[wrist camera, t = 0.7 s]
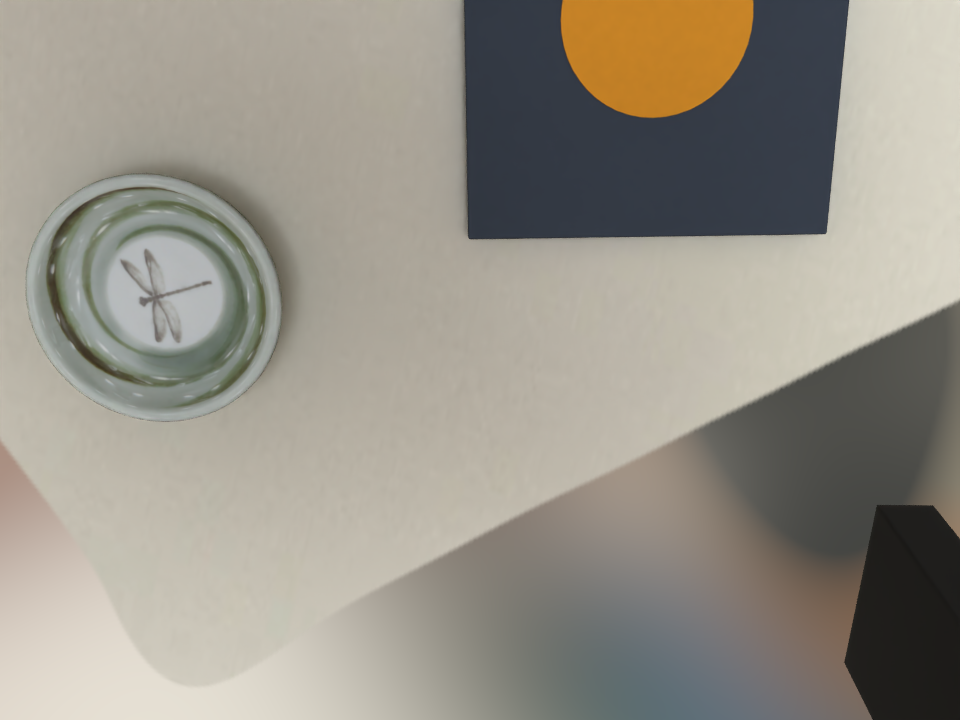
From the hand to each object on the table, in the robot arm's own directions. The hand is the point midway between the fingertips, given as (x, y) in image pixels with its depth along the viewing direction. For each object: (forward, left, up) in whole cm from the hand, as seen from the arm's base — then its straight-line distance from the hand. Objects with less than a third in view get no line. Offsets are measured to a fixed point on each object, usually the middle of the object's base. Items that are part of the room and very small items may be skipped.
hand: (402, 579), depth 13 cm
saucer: (+1, -11, -25) cm, 27 cm away
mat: (-9, +8, -25) cm, 28 cm away
